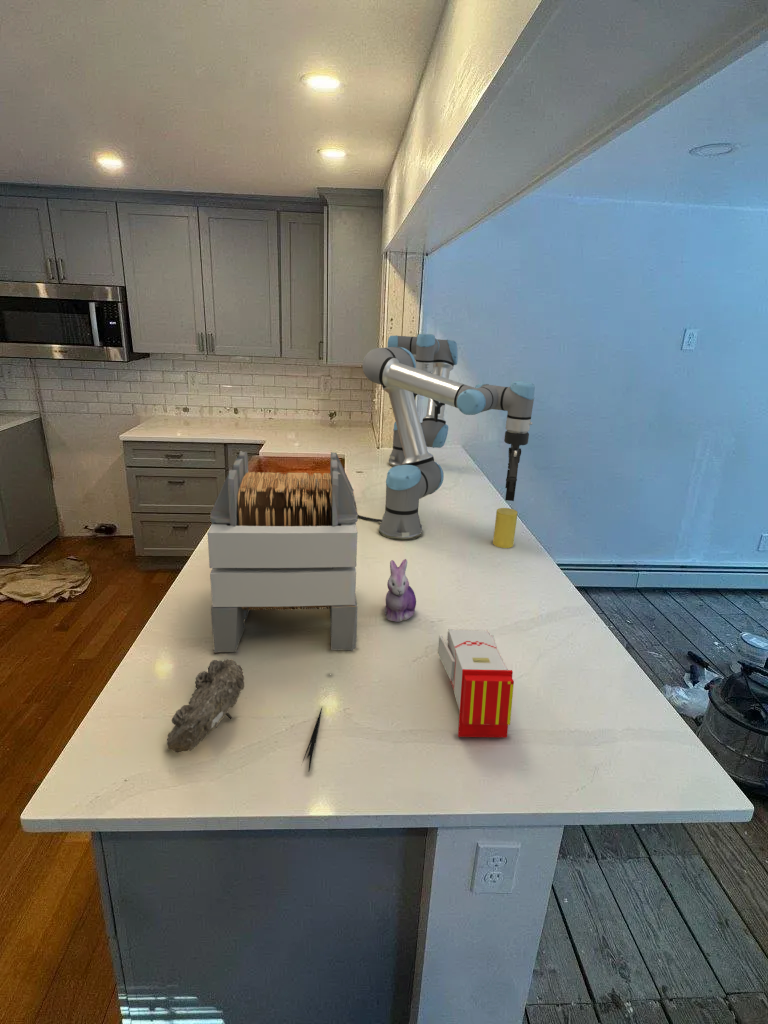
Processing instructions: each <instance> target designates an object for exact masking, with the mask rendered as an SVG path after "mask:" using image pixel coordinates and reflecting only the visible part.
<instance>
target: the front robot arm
mask: <svg viewBox="0 0 768 1024" xmlns="http://www.w3.org/2000/svg"><path fill="white" fill-rule="evenodd" d="M362 372H363V374H364V376H365V377H366V379H368V380H369V381H370V382H372V383H374V384H377V385H381V388H382V390H383V391H384V392H386V393H387V395H388V398H389V402H390V405H391V410H392V413H393V416H394V420H395V421H396V425H397V429H398V433H399V436H400V440H401V444H402V448H403V452H404V456H405V459H404V461H403V463H402V464H403V465H401V466H400V465H398V466H394V467H393V466H391V468H389V469H388V471H387V473H386V479H385V504H384V505H385V507H384V508H385V509H384V513H383V515H382V519H381V518H374V517H369V516H364V515H359V514H358V519H362V520H366V521H372V522H378V523H379V526H378V533H379V534H380V535H381V536H382V537H385V538H387V539H389V540H395V541H410V540H415V539H418V538H420V537H421V536H422V535H423V525H422V524H421V518H420V515H419V507H420V506H419V505H420V500H421V499H423V498H425V497H427V496H429V495H433V494H434V493H435V492H436V491H438V490H439V489H440V488H441V487H442V486H443V485H442V484H443V482H444V470H443V468H442V467H441V465H440V464H439V463H438V462H437V461H436V460H435V458H434V455H433V454H432V453H430V452H429V450H428V447H427V446H426V442H425V439H424V435H423V431H422V427H421V423H422V422H421V418H420V415H419V412H418V407H417V403H416V400H415V398H414V395H413V393H416V394H418V395H419V396H421V397H424V398H428V399H429V398H430V399H433V400H436V401H439V402H441V403H444V404H445V405H448V406H450V407H453V408H456V409H458V410H459V412H460V413H462V414H463V415H467V416H474V415H479V414H480V413H483V412H487V411H491V410H495V411H497V410H498V411H502V412H503V411H504V412H507V415H506V421H505V430H506V431H505V432H504V439H503V442H504V443H506V444H508V445H510V447H508V462H507V471H506V477H505V488H504V489H506V491H505V499H504V500H505V501H509V502H514V501H515V497H516V495H515V494H516V489H517V487H516V486H517V481H518V470H519V463H520V461H521V455H522V448H520V446H526V445H528V444H529V437H530V433H529V432H530V429H531V426H532V425H533V421H531V420H532V414H533V407H534V401H535V389H536V386H535V384H534V383H533V382H530V381H520V380H516V381H515V380H514V381H511V383H510V386H501V385H496V384H495V385H494V384H489V383H478V384H476V385H475V387H474V386H471V385H467V384H465V383H462V382H459V381H457V380H452V379H450V378H449V379H447V378H444V377H441V376H438V375H435V374H432V372H431V373H429V372H426V371H423V370H419V369H416V360H415V359H414V356H413V355H412V353H411V352H410V351H409V350H407V349H405V348H402V347H395V346H394V347H388V346H387V347H375V348H372V349H370V350H369V351H368V352H367V353H366V354H365V355H364V358H363V360H362ZM395 421H394V422H395Z"/></svg>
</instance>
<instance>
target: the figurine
mask: <svg viewBox="0 0 768 1024" xmlns="http://www.w3.org/2000/svg"><path fill="white" fill-rule="evenodd" d="M407 567H408V559H406V558H404V559H403V560H402V561H401V563H400V565H399V566H398V565H397V563H396V562H395V561H394V560H393V559H391V560H390V561H389V570H390V576H389V578H388V579H387V589H388V591H387V592H386V594H385V595H386V596H385V607H384V615H385V616H386V620H387V621H391V622H395V623H400V622H402V621H406V620H409V619H410V618H411V617H413V616H414V615H415V610H416V606H417V597H416V593H415V591H414V590H413V587H411V586H410V582H409V579H408V577H407V574H406V571H407Z"/></svg>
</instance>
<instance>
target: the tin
mask: <svg viewBox="0 0 768 1024" xmlns="http://www.w3.org/2000/svg"><path fill="white" fill-rule="evenodd" d="M517 520H518V511H517V510H516V509H513V508H508V507H499V508H497V509H496V512H495V521H494V529H493V539H492V545H494V546H495V547H497V548H501V549H510V548H511V549H512V548H513V547H514V544H515V543H514V542H515V536H516V530H517V529H516V528H517V522H518V521H517Z"/></svg>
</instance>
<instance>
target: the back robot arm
mask: <svg viewBox="0 0 768 1024" xmlns="http://www.w3.org/2000/svg"><path fill="white" fill-rule="evenodd" d="M394 346H395V347H402V348H405V349H407V350H409V351H410V352H411V353H412V355H413V356H414V359H415V362H416V369H419V370H423V371H426V372H429V373H432V374H435V375H438V376H441V377H444V378H447V379H450V372H451V371H452V370H453V369H454V367H455V366H457V365H458V361H459V360H458V359H459V358H458V356H459V353H458V343H457V341H455V340H451V339H439V338H438V339H437V338H436V336H435V334H432V333H418V334H417V336H410V335H409V336H406V335H398V334H397V335H390V336H389V337H388V339H387V347H394ZM413 395H414V399H415V398H416V397H417V396H418V395H419V394H416V393H413ZM445 410H446V404H444V403H441V402H439V401H436V400H433V399H430V398H428V401H427V407H426V414H425V416H424V417H423V418H422V421H421V422H420V423H421V427H422V431H423V435H424V439H425V442H426V446H427V448H432V449H435V448H436V449H437V448H438V449H441V448H443V447H444V446H445V443H446V441H447V438H448V434H449V425H448V424H446V423H447V421H446V420H445V418H444V416H445ZM392 432H393V435H392V450H391V453H390V454H389V458H388V463H387V464H388V466H391V467H394V466H398V465H400V466H401V465H403V464H402V463H403V461H404V459H405V456H404V452H403V448H402V444H401V440H400V436H399V433H398V429H397V425H396V421H394V424H393V431H392Z"/></svg>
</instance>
